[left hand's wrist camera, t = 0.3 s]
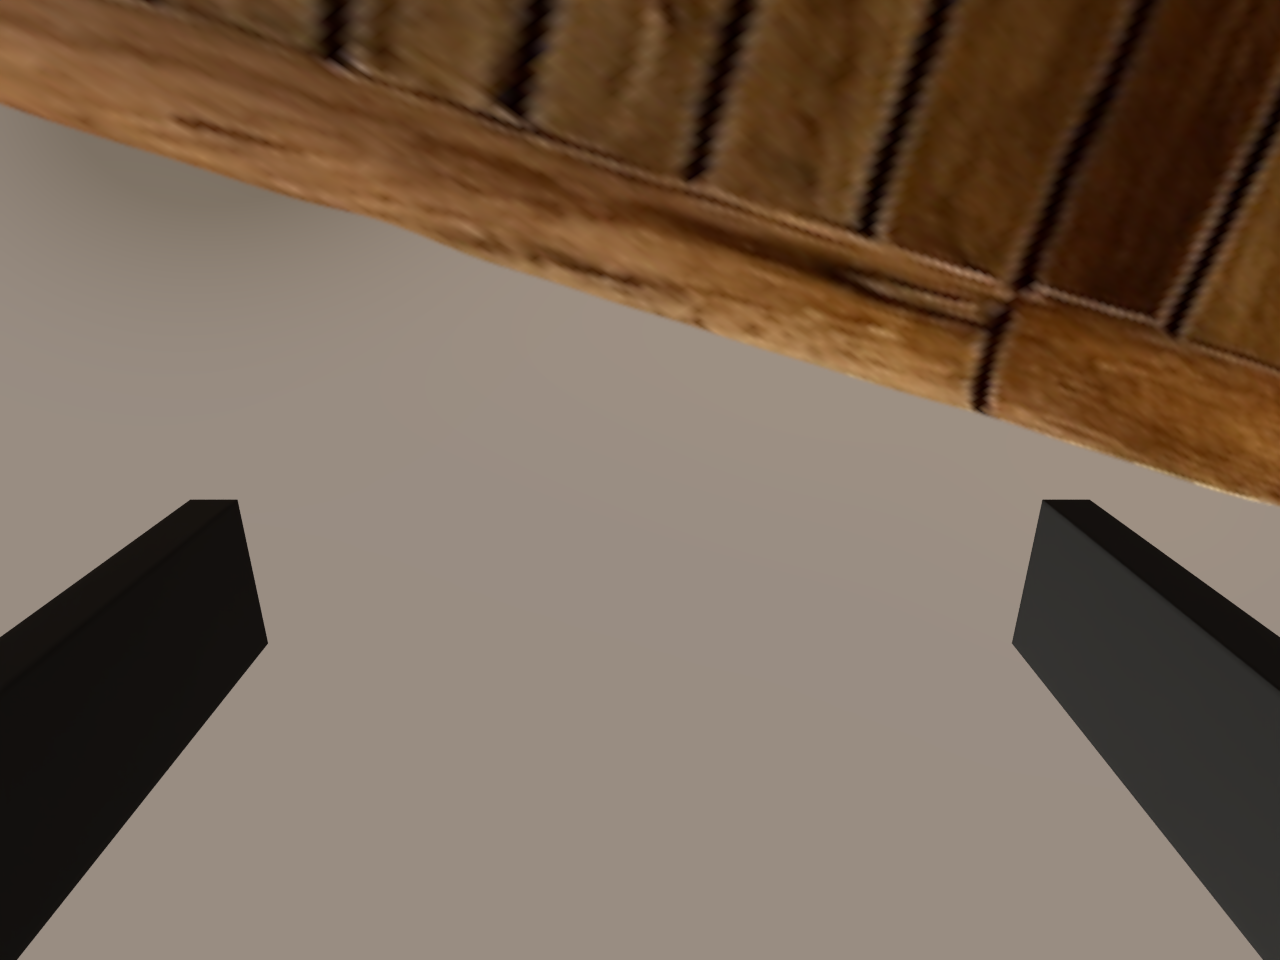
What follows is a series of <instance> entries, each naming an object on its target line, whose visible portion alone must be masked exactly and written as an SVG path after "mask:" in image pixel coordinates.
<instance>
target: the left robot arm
mask: <svg viewBox="0 0 1280 960" xmlns="http://www.w3.org/2000/svg"><path fill="white" fill-rule="evenodd" d="M267 644H268V641H267V636H266V632H265V627H264V622H263V618H262V613H261V608H260V603H259V599H258V594H257V590H256V585H255V580H254V575H253V571H252V566H251V561H250V557H249V552H248V547H247V542H246V538H245V533H244V528H243V524H242V519H241V514H240V510H239V505H238V500H189V501H188V502H187V503H185V504H184V505H182V506H181V507H180V508H178V509H177V510H176V511H174V512H173V513H171V514H170V515H169V516H167V517H166V518H164V519H163V520H162V521H160V522H159V523H158V524H156V525H155V526H153V527H152V528H151V529H149V530H148V531H147V532H145V533H144V534H142V535H141V536H140V537H138V538H137V539H135V540H134V541H133V542H131V543H130V544H129V545H127V546H126V547H124V548H123V549H122V550H120V551H119V552H118V553H116V554H115V555H113V556H112V557H111V558H109V559H108V560H106V561H105V562H104V563H102V564H101V565H100V566H98V567H97V568H95V569H94V570H93V571H91V572H90V573H88V574H87V575H86V576H84V577H83V578H82V579H80V580H79V581H77V582H76V583H75V584H73V585H72V586H70V587H69V588H68V589H66V590H65V591H64V592H62V593H61V594H59V595H58V596H57V597H55V598H54V599H53V600H51V601H50V602H48V603H47V604H46V605H44V606H43V607H41V608H40V609H39V610H37V611H36V612H35V613H33V614H32V615H30V616H29V617H28V618H26V619H25V620H23V621H22V622H21V623H19V624H18V625H17V626H15V627H14V628H12V629H11V630H10V631H8V632H7V633H5V634H4V635H3V636H1V637H0V960H17V959H18V958H19V956H20V955H21V954H22V953H23V951H24V950H25V949H26V948H27V946H28V945H29V944H30V943H31V941H32V940H33V939H34V938H35V936H36V935H37V934H38V933H39V931H40V930H41V929H42V927H43V926H44V925H45V924H46V922H47V921H48V920H49V919H50V917H51V916H52V915H53V914H54V912H55V911H56V910H57V909H58V907H59V906H60V905H61V904H62V902H63V901H64V900H65V898H66V897H67V896H68V895H69V893H70V892H71V891H72V890H73V888H74V887H75V886H76V885H77V883H78V882H79V881H80V880H81V878H82V877H83V876H84V875H85V873H86V872H87V871H88V870H89V868H90V867H91V866H92V864H93V863H94V862H95V861H96V859H97V858H98V857H99V856H100V854H101V853H102V852H103V851H104V849H105V848H106V847H107V846H108V844H109V843H110V842H111V840H112V839H113V838H114V837H115V835H116V834H117V833H118V832H119V830H120V829H121V828H122V827H123V825H124V824H125V823H126V822H127V820H128V819H129V818H130V817H131V815H132V814H133V813H134V812H135V810H136V809H137V808H138V806H139V805H140V804H141V803H142V801H143V800H144V799H145V798H146V796H147V795H148V794H149V793H150V791H151V790H152V789H153V788H154V786H155V785H156V784H157V783H158V781H159V780H160V779H161V777H162V776H163V775H164V774H165V772H166V771H167V770H168V769H169V767H170V766H171V765H172V764H173V762H174V761H175V760H176V759H177V757H178V756H179V755H180V754H181V752H182V751H183V750H184V749H185V747H186V746H187V745H188V743H189V742H190V741H191V740H192V738H193V737H194V736H195V735H196V733H197V732H198V731H199V730H200V728H201V727H202V726H203V725H204V723H205V722H206V721H207V720H208V718H209V717H210V716H211V715H212V713H213V712H214V711H215V709H216V708H217V707H218V706H219V704H220V703H221V702H222V701H223V699H224V698H225V697H226V696H227V694H228V693H229V692H230V691H231V689H232V688H233V687H234V686H235V684H236V683H237V682H238V680H239V679H240V678H241V677H242V675H243V674H244V673H245V672H246V670H247V669H248V668H249V667H250V665H251V664H252V663H253V662H254V660H255V659H256V658H257V657H258V655H259V654H260V653H261V651H262V650H263V649H264V648H265V646H266V645H267ZM1012 644H1013V645H1014V646H1015V648H1016V649H1017V650H1018V651H1019V653H1020V654H1021V655H1022V657H1023V658H1024V659H1025V660H1026V662H1027V663H1028V664H1029V665H1030V667H1031V668H1032V669H1033V670H1034V672H1035V673H1036V674H1037V675H1038V677H1039V678H1040V679H1041V680H1042V682H1043V683H1044V684H1045V686H1046V687H1047V688H1048V689H1049V691H1050V692H1051V693H1052V694H1053V696H1054V697H1055V698H1056V699H1057V701H1058V702H1059V703H1060V704H1061V706H1062V707H1063V708H1064V709H1065V711H1066V712H1067V713H1068V714H1069V716H1070V717H1071V718H1072V720H1073V721H1074V722H1075V723H1076V725H1077V726H1078V727H1079V728H1080V730H1081V731H1082V732H1083V733H1084V735H1085V736H1086V737H1087V738H1088V740H1089V741H1090V742H1091V743H1092V745H1093V746H1094V747H1095V749H1096V750H1097V751H1098V752H1099V754H1100V755H1101V756H1102V757H1103V759H1104V760H1105V761H1106V762H1107V764H1108V765H1109V766H1110V767H1111V769H1112V770H1113V771H1114V772H1115V774H1116V775H1117V776H1118V777H1119V779H1120V780H1121V781H1122V783H1123V784H1124V785H1125V786H1126V788H1127V789H1128V790H1129V791H1130V793H1131V794H1132V795H1133V796H1134V798H1135V799H1136V800H1137V801H1138V803H1139V804H1140V805H1141V807H1142V808H1143V809H1144V810H1145V812H1146V813H1147V814H1148V815H1149V817H1150V818H1151V819H1152V820H1153V822H1154V823H1155V824H1156V825H1157V827H1158V828H1159V829H1160V830H1161V832H1162V833H1163V834H1164V835H1165V837H1166V838H1167V839H1168V841H1169V842H1170V843H1171V844H1172V846H1173V847H1174V848H1175V849H1176V851H1177V852H1178V853H1179V854H1180V856H1181V857H1182V858H1183V859H1184V861H1185V862H1186V863H1187V864H1188V866H1189V867H1190V868H1191V870H1192V871H1193V872H1194V873H1195V875H1196V876H1197V877H1198V878H1199V880H1200V881H1201V882H1202V883H1203V885H1204V886H1205V887H1206V888H1207V890H1208V891H1209V892H1210V893H1211V895H1212V896H1213V897H1214V899H1215V900H1216V901H1217V902H1218V904H1219V905H1220V906H1221V907H1222V909H1223V910H1224V911H1225V912H1226V914H1227V915H1228V916H1229V917H1230V919H1231V920H1232V921H1233V922H1234V924H1235V925H1236V926H1237V927H1238V929H1239V930H1240V931H1241V933H1242V934H1243V935H1244V936H1245V938H1246V939H1247V940H1248V941H1249V943H1250V944H1251V945H1252V946H1253V948H1254V949H1255V950H1256V951H1257V953H1258V954H1259V955H1260V956H1261V958H1262V959H1263V960H1280V637H1279V636H1277V635H1276V634H1275V633H1273V632H1272V631H1270V630H1269V629H1268V628H1266V627H1265V626H1263V625H1262V624H1261V623H1259V622H1258V621H1257V620H1255V619H1254V618H1252V617H1251V616H1250V615H1248V614H1247V613H1245V612H1244V611H1243V610H1241V609H1240V608H1239V607H1237V606H1236V605H1234V604H1233V603H1232V602H1230V601H1229V600H1228V599H1226V598H1225V597H1223V596H1222V595H1221V594H1219V593H1218V592H1216V591H1215V590H1214V589H1212V588H1211V587H1210V586H1208V585H1207V584H1205V583H1204V582H1203V581H1201V580H1200V579H1199V578H1197V577H1196V576H1194V575H1193V574H1192V573H1190V572H1189V571H1187V570H1186V569H1185V568H1183V567H1182V566H1181V565H1179V564H1178V563H1176V562H1175V561H1174V560H1172V559H1171V558H1169V557H1168V556H1167V555H1165V554H1164V553H1163V552H1161V551H1160V550H1158V549H1157V548H1156V547H1154V546H1153V545H1151V544H1150V543H1149V542H1147V541H1146V540H1145V539H1143V538H1142V537H1140V536H1139V535H1138V534H1136V533H1135V532H1134V531H1132V530H1131V529H1129V528H1128V527H1127V526H1125V525H1124V524H1122V523H1121V522H1120V521H1118V520H1117V519H1116V518H1114V517H1113V516H1111V515H1110V514H1109V513H1107V512H1106V511H1104V510H1103V509H1102V508H1100V507H1099V506H1097V505H1096V504H1095V503H1093V502H1092V501H1091V500H1042V505H1041V510H1040V514H1039V519H1038V524H1037V528H1036V533H1035V538H1034V542H1033V547H1032V552H1031V557H1030V561H1029V566H1028V571H1027V575H1026V580H1025V585H1024V589H1023V594H1022V599H1021V604H1020V608H1019V613H1018V618H1017V622H1016V627H1015V632H1014V636H1013V641H1012Z"/></svg>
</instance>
